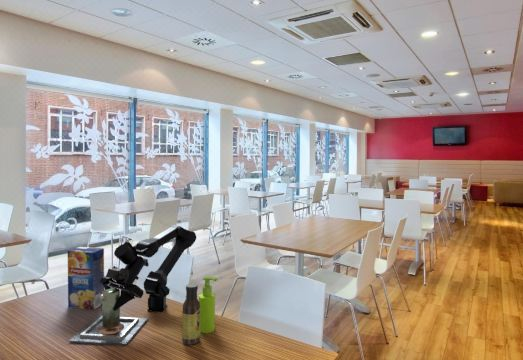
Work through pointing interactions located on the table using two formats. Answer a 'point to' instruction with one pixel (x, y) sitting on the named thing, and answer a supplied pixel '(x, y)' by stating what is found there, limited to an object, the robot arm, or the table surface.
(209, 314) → the soap dispenser
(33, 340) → the table surface
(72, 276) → the juice carton
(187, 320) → the sauce bottle
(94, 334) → the port plate
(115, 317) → the spout can
